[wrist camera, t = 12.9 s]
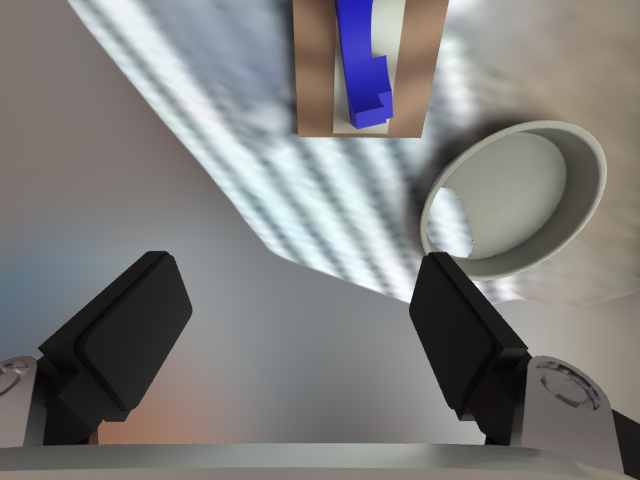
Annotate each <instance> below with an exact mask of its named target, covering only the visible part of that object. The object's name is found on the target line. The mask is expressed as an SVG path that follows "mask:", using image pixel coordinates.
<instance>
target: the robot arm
mask: <svg viewBox="0 0 640 480" xmlns="http://www.w3.org/2000/svg"><path fill="white" fill-rule="evenodd" d="M409 313H410V317H411V320H412V322H413V324H414V327H415V329H416V331H417V334H418V336H419V338H420V341H421V343H422V346H423V348H424V350H425V353H426V355H427V357H428V360H429V362H430V364H431V367H432V369H433V371H434V374H435V376H436V378H437V381H438V383H439V386H440V388H441V390H442V393H443V395H444V398H445V400H446V402H447V404H448V406H449V407H450V408H451V409H454V410H455V412H456V414H457V417H458V419H459V421H476V422H477V425H478V427H479V429H480V431H481V432H482V433H481V437H480V442H479V445H461V444H327V443H323V444H320V443H317V444H109V445H108V444H107V445H106V444H104V445H99V444H98V426H99V425H100V423H101V422H102V420H103V419H104V420H105V421H106V422H124V421H125V420H126V418H127V416H128V415H129V413H130V411H131V410H133V409H134V408H136V407H137V406H138V404H139V403H140V401H141V400H142V398H143V396H144V395H145V393H146V391H147V389H148V388H149V386H150V384H151V383H152V381H153V379H154V378H155V376H156V374H157V373H158V371H159V369H160V367H161V366H162V364H163V363H164V361H165V359H166V357H167V356H168V354H169V352H170V351H171V349H172V347H173V345H174V344H175V342H176V341H177V339H178V337H179V335H180V334H181V332H182V330H183V329H184V327H185V325H186V324H187V322H188V320H189V319H190V317H191V315H192V306H191V303H190V300H189V297H188V294H187V291H186V289H185V286H184V283H183V280H182V278H181V275H180V272H179V270H178V267H177V264H176V261H175V259H174V257H173V256H172V255H170V254H169V253H168V252H166V251H148V252H146V253H145V254H144V255H143V256H142V257H141V258H140V259H138V260H137V261H136V262H135V263H134V264H133V265H132V266H130V267H129V268H128V269H127V270H126V271H125V272H124V273H122V274H121V275H120V276H119V277H118V278H117V279H116V280H114V281H113V282H112V283H111V284H110V285H109V286H108V287H106V288H105V289H104V290H103V291H102V292H101V293H100V294H98V295H97V296H96V297H95V298H94V299H93V300H92V301H91V302H89V303H88V304H87V305H86V306H85V307H84V308H83V309H81V310H80V311H79V312H78V313H77V314H76V315H75V316H73V317H72V318H71V319H70V320H69V321H68V322H67V323H66V324H64V325H63V326H62V327H61V328H60V329H59V330H58V331H56V332H55V333H54V334H53V335H52V336H51V337H50V338H48V339H47V340H46V341H45V342H44V343H43V344H42V345H41V346H40V347H38V349H39V350H40V351H41V352H42V353H43V354H44V356H43V357H42V358H40V359H39V360H38V361H37V360H36V359H35V358H33V357H32V356H18V357H13V358H10V359H7V360H4V361H1V362H0V480H640V424H639V423H637V422H635V421H633V420H631V419H629V418H628V417H626V416H624V415H622V414H620V413H618V412H617V411H615V410H613V409H611V405H610V403H609V400H608V398H607V396H606V395H605V393H604V392H603V391H602V389H601V388H600V387H599V386H598V385H597V384H596V383H595V382H594V381H593V380H592V379H591V378H590V377H589V376H587V375H586V374H584V373H583V372H582V371H580V370H579V369H578V368H576V367H574V366H572V365H570V364H569V363H567V362H564V361H562V360H559V359H557V358H554V357H549V356H536V357H534V358H533V357H532V356H531V355H530V354H529V353H528V352H527V349H528V347H527V346H526V345H525V344H524V342H523V341H522V340H521V339H520V338H519V336H518V335H517V334H516V333H515V332H514V331H513V329H512V328H511V327H510V326H509V325H508V323H507V322H506V321H505V320H504V319H503V318H502V316H501V315H500V314H499V313H498V312H497V311H496V309H495V308H494V307H493V306H492V305H491V303H490V302H489V301H488V300H487V299H486V297H485V296H484V295H483V294H482V293H481V292H480V290H479V289H478V288H477V287H476V286H475V284H474V283H473V282H472V281H471V280H470V279H469V277H468V276H467V275H466V274H465V273H464V271H463V270H462V269H461V268H460V267H459V266H458V264H457V263H456V262H455V261H454V260H453V258H452V257H451V256H450V255H449V254H448V253H447V252H429V253H428V255H427V256H424V257H423V259H422V262H421V266H420V270H419V274H418V277H417V281H416V285H415V288H414V292H413V296H412V299H411V303H410V307H409Z"/></svg>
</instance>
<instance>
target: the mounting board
mask: <svg viewBox="0 0 640 480" xmlns="http://www.w3.org/2000/svg"><path fill="white" fill-rule="evenodd" d="M448 2H449V0H373V5H372V19H371V46H372V58H376V57H380V56H384V55H386V56H387V68H388V75H389V81H390V85H391V89H392V101H393V118H390V119H386V123H383V124H379V125H375V126H370V127H366V128H362V129H356V128H355V127H354V126H352V125H351V122H350V114H349V107H348V99H347V91H346V84H345V76H344V69H343V61H342V54H341V46H340V39H339V31H338V23H337V16H336V8H335V1H334V0H293V18H294V45H295V72H296V99H297V125H298V137H376V138H421V135H422V130H423V125H424V120H425V116H426V111H427V106H428V101H429V96H430V91H431V86H432V81H433V76H434V71H435V66H436V61H437V56H438V52H439V47H440V42H441V37H442V32H443V27H444V22H445V17H446V12H447V7H448Z"/></svg>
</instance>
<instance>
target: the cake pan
mask: <svg viewBox="0 0 640 480" xmlns="http://www.w3.org/2000/svg"><path fill="white" fill-rule="evenodd" d="M606 175H607V166H606V159H605V155H604V152H603V150H602V148H601V146H600V144H599V143H598V141H597V140H596V139H595V138H594V137H593V136H592V135H591V134H590V133H589V132H588V131H586V130H585V129H583V128H581V127H579V126H578V125H575V124H572V123H568V122H565V121H560V120H537V121H530V122H525V123H521V124H517V125H514V126H511V127H508V128H505V129H503V130H501V131H498V132H496V133H494V134H492V135H490V136H488V137H486V138H485V139H483V140H481V141H479V142H477V143H475V144H473V145H472V146H470V147H468V148H467V149H465V150H464V151H462V152H461V153H460V154H458V155H457V156H456V157H455V158H454V159H453V160H451V161H450V162H449V163H448V164H447V165H446V166H445V168H444V169H443V170H442V171H441V172H440V174H439V175H438V176H437V178H436V179H435V181H434V182H433V184H432V186H431V188H430V190H429V192H428V194H427V197H426V200H425V203H424V207H423V212H422V216H421V223H420V237H421V242H422V246H423V249H424V251H425V253H426V255H428V253H429V252H443V251H441V250H440V249H438V248H437V247H436V246H435V244H434V243H432V242H431V240H430V239H429V237H428V235H427V232H426V223H427V217H428V213H429V210H430V207H431V204H432V202H433V200H434V198H435V196H436V194H437V192H438V191H439V189H440V187H443V188H449V189H453V190H454V191H455V192H456V195H458V199H459V200H460V201H462V203H463V205H464V208H465V211H466V214H467V217H468V220H469V223H470V225H471V228H472V231H473V234H474V239H473V240H472V241H474V245H473V250H472V253H470V255H469V256H468V257H467V258H461V257H455V256H452V255H450V256H451V257H452V258H453V260H454V261H455V262H456V263H457V264H458V266H459V267H460V268H461V269H462V270H463V271H464V273H465V274H466V275H467V276H468V277H469V279H470V280H473V281H485V280H494V279H500V278H504V277H508V276H512V275H515V274H518V273H520V272H523V271H525V270H528V269H530V268H532V267H534V266H536V265H538V264H540V263H542V262H543V261H545V260H546V259H548V258H550V257H551V256H553V255H554V254H555V253H557V252H558V251H559V250H561V249H562V248H563V247H564V246H565V245H567V244H568V243H569V242H570V241H571V240H572V239H573V238H574V237H575V236H576V235H577V234H578V233H579V232H580V231H581V230H582V228H583V227H584V226H585V225H586V223H587V222H588V221H589V219H590V218H591V216H592V215H593V213H594V211H595V210H596V208H597V206H598V204H599V202H600V199H601V197H602V194H603V191H604V187H605V182H606Z"/></svg>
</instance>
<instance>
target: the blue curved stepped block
mask: <svg viewBox="0 0 640 480" xmlns="http://www.w3.org/2000/svg"><path fill="white" fill-rule="evenodd" d="M334 1H335V8H336V16H337V23H338V31H339V39H340V46H341V54H342V61H343V69H344V76H345V84H346V91H347V99H348V107H349V114H350V122H351V125H352V126H354V127H355V128H356V129H362V128H366V127H370V126H375V125H379V124H383V123H386V119H390V118H393V101H392V89H391V85H390V81H389V75H388V68H387V56H386V55H384V56H380V57H376V58H372V46H371V19H372V5H373V0H334Z"/></svg>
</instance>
